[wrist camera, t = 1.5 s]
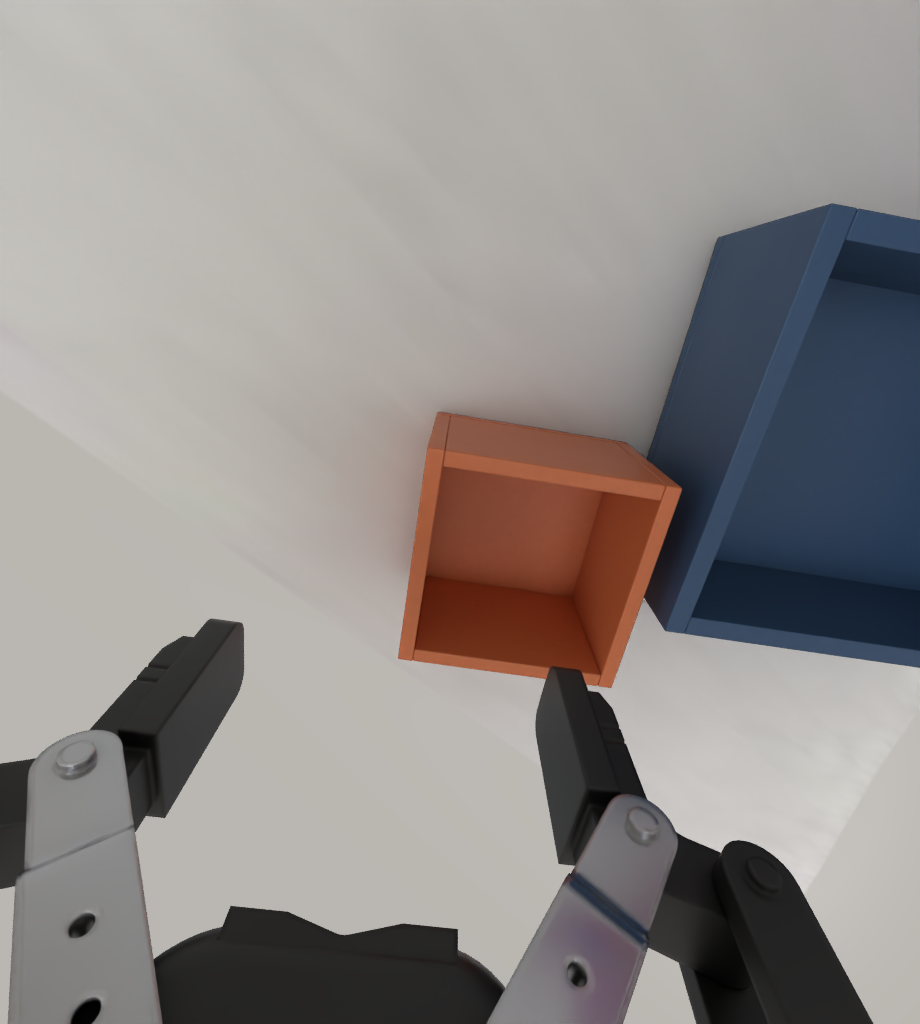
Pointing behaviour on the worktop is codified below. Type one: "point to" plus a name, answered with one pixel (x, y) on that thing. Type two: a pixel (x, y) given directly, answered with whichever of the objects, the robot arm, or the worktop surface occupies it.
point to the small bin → (531, 549)
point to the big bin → (799, 442)
